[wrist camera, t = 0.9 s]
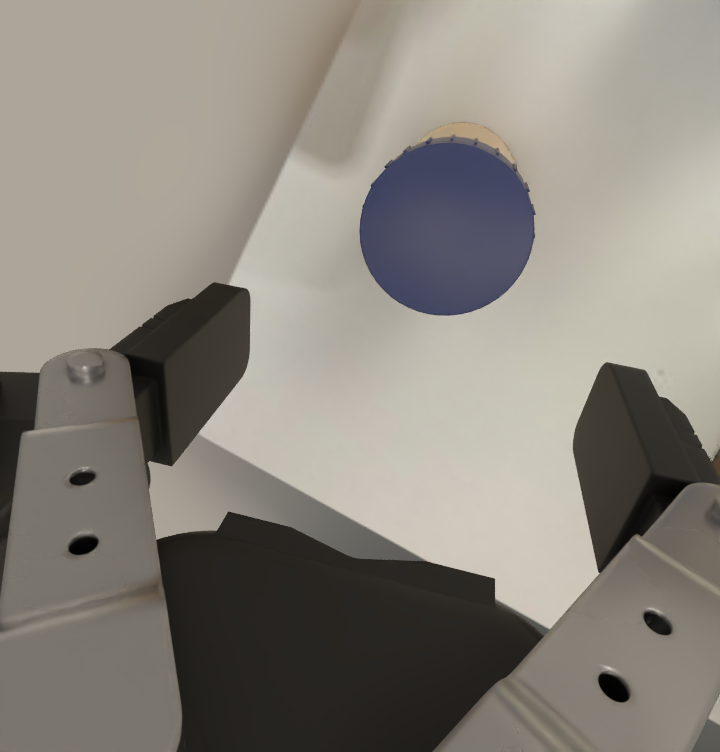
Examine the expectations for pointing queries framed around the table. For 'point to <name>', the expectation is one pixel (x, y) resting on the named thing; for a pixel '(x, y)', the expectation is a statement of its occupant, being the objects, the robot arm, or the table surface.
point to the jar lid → (447, 226)
